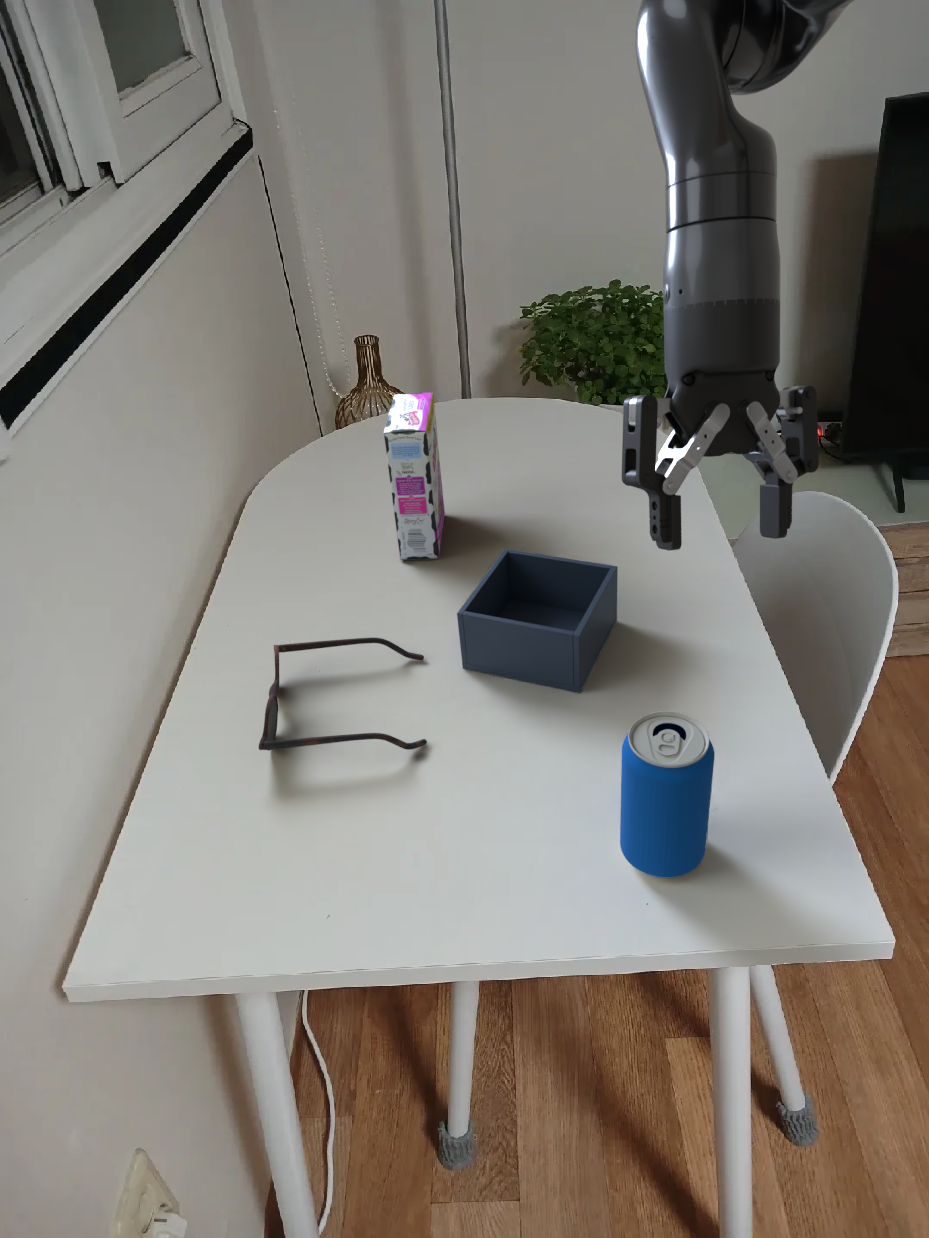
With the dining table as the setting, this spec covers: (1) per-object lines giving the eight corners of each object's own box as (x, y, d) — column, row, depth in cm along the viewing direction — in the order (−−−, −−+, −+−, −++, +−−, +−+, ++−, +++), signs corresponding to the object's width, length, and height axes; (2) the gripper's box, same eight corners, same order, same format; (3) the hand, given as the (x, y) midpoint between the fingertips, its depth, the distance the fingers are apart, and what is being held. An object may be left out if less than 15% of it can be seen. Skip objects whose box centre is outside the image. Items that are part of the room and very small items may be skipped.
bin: (617, 621, 99) (617, 566, 95) (580, 693, 90) (579, 636, 86) (507, 601, 103) (504, 548, 99) (462, 668, 95) (456, 613, 91)
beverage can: (707, 826, 76) (718, 712, 69) (701, 891, 71) (712, 776, 64) (626, 813, 77) (628, 702, 70) (614, 876, 72) (615, 763, 65)
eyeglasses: (278, 669, 97) (268, 630, 94) (423, 653, 97) (418, 613, 94) (264, 771, 85) (252, 729, 82) (430, 752, 85) (424, 710, 82)
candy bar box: (442, 560, 111) (427, 430, 102) (399, 562, 112) (380, 433, 102) (447, 513, 120) (434, 389, 111) (408, 515, 121) (391, 392, 111)
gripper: (655, 295, 58) (660, 560, 61) (848, 291, 62) (842, 538, 65) (598, 311, 65) (606, 547, 68) (775, 306, 69) (774, 528, 72)
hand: (722, 543), depth 67 cm, fingers open, 8 cm apart
